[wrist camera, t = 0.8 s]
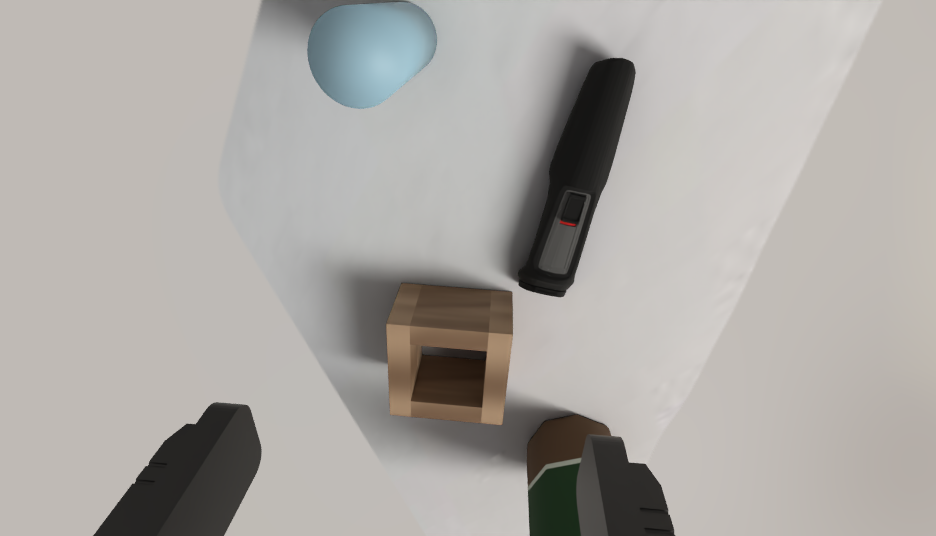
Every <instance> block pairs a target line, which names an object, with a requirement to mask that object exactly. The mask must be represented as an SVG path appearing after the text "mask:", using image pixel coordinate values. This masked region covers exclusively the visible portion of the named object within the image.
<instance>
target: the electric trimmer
mask: <svg viewBox="0 0 936 536" xmlns="http://www.w3.org/2000/svg"><path fill="white" fill-rule="evenodd" d="M635 73H636V72H635V67H634V64H633V63H632V62H631V61H629V60H626V59H623V58H610V59H605V60H602V61H599V62H596V63H594V64H593V65H592V67H591V69H590V70H589V72H588V75H587V77H586V79H585V81H584V84H583V86H582V88H581V90H580V93H579V95H578V98H577V100H576V103H575V105H574V107H573V110H572V112H571V115H570V117H569V120H568V122H567V124H566V127H565V129H564V132H563V134H562V137H561V139H560V141H559V144H558V146H557V149H556V152H555V154H554V157H553V160H552V162H551V165H550V171H549V175H550V185H549V192H548V198H547V202H546V205H545V208H544V212H543V215H542V218H541V221H540V225H539V228H538V231H537V234H536V238H535V241H534V244H533V247H532V250H531V252H530V255H529V258H528V261H527V263H526V265H525V266H524V267H523V268H522V269H520V270H519V272H518V276H519V278H520V280H519V286H520V287H522V288H524V289H526V290H528V291H532V292H536V293H540V294H544V295H549V296H555V297H563V296H564V295H565V293H566V290H567V289H568V288H569V287H570V286H571V285H572V284H573V282H574V277H575V273H576V270H577V267H578V264H579V260H580V257H581V254H582V251H583V247H584V244H585V241H586V237H587V234H588V231H589V228H590V224H591V221H592V218H593V214H594V212H595V209H596V206H597V203H598V201H599V198H600V195H601V193H602V191H603V189H604V187H605V185H606V182H607V179H608V176H609V173H610V170H611V166H612V163H613V160H614V156H615V152H616V149H617V145H618V141H619V138H620V134H621V130H622V127H623V123H624V119H625V116H626V112H627V108H628V104H629V101H630V97H631V93H632V89H633V85H634V79H635Z"/></svg>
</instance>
